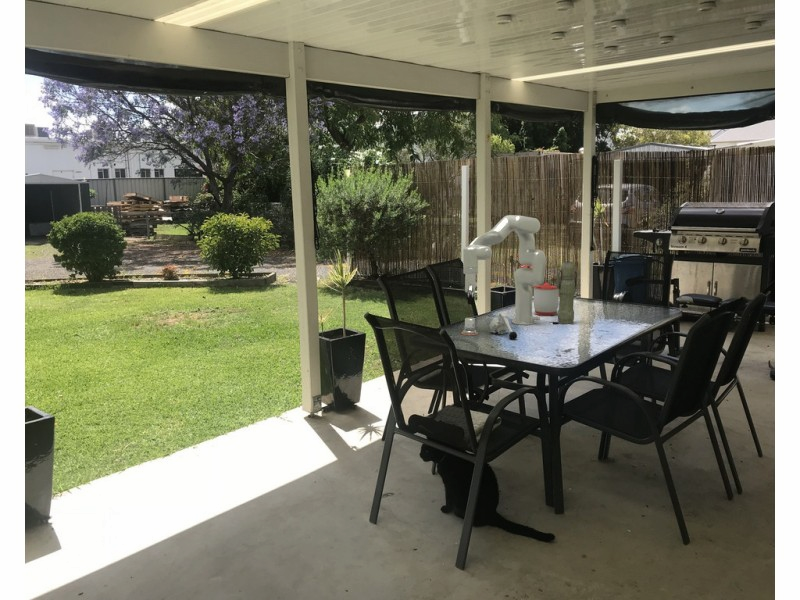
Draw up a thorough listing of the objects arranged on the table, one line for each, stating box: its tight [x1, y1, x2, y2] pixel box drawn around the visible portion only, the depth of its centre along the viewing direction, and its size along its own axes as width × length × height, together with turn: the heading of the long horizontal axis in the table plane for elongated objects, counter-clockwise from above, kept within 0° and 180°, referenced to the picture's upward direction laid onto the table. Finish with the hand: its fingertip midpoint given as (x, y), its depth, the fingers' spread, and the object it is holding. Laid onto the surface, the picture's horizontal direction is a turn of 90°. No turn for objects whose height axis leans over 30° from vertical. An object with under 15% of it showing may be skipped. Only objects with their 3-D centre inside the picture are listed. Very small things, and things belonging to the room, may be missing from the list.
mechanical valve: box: [488, 311, 518, 341], centre depth 335 cm, size 10×18×15 cm
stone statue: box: [556, 261, 579, 325], centre depth 364 cm, size 9×12×35 cm
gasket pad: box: [460, 331, 479, 336], centre depth 341 cm, size 9×9×1 cm
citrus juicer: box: [532, 281, 560, 317], centre depth 392 cm, size 16×17×20 cm
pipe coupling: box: [462, 317, 477, 334], centre depth 341 cm, size 7×7×8 cm
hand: (470, 302), depth 339 cm, fingers open, 9 cm apart
